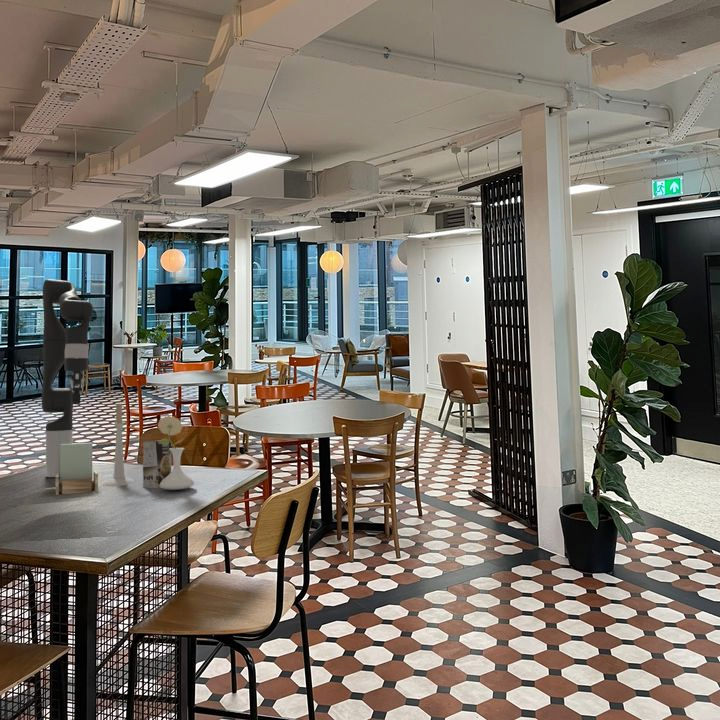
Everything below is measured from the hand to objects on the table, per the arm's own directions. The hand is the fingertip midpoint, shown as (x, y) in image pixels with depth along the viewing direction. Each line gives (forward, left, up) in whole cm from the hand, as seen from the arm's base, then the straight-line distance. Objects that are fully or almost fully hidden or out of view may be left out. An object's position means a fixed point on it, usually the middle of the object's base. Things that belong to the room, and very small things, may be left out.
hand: (76, 403), depth 217 cm
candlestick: (-5, +14, -30) cm, 33 cm away
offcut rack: (+2, 0, -30) cm, 30 cm away
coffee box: (+6, +26, -30) cm, 40 cm away
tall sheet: (0, 0, -30) cm, 30 cm away
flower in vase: (+18, +30, -30) cm, 46 cm away
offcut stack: (+5, 0, -30) cm, 30 cm away
